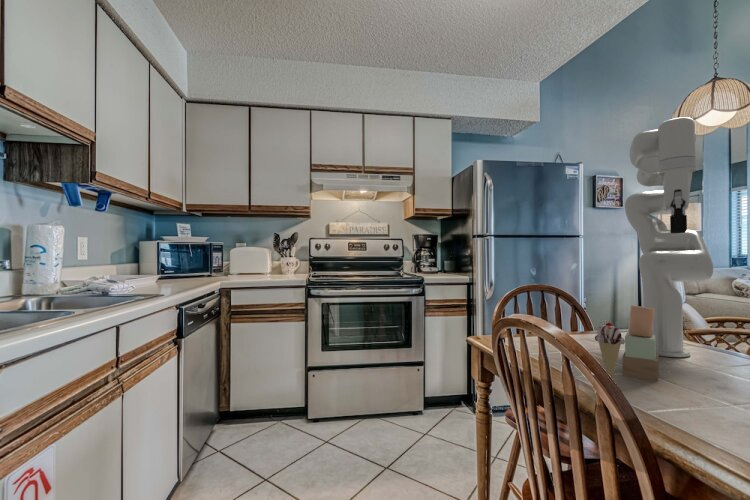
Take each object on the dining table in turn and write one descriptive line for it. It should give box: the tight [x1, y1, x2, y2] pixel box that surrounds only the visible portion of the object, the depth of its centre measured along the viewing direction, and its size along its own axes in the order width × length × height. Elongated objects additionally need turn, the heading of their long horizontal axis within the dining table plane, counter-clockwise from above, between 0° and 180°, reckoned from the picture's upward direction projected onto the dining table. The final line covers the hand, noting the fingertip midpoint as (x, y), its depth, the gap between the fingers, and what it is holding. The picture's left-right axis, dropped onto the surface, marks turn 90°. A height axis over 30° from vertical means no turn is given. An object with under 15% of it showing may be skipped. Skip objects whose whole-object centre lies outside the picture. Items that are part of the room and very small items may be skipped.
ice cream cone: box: [594, 322, 625, 379], centre depth 84 cm, size 6×6×15 cm
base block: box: [622, 351, 660, 382], centre depth 93 cm, size 7×7×5 cm
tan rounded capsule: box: [627, 305, 655, 337], centre depth 94 cm, size 5×5×7 cm
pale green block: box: [624, 332, 656, 360], centre depth 93 cm, size 6×6×5 cm
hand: (678, 232), depth 96 cm, fingers open, 9 cm apart
